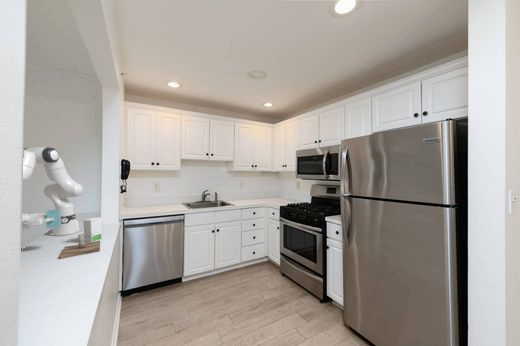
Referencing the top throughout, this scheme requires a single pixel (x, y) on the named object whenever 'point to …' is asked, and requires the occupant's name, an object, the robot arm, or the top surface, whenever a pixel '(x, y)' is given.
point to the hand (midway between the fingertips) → (55, 217)
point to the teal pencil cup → (56, 215)
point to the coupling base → (80, 248)
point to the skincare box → (92, 230)
